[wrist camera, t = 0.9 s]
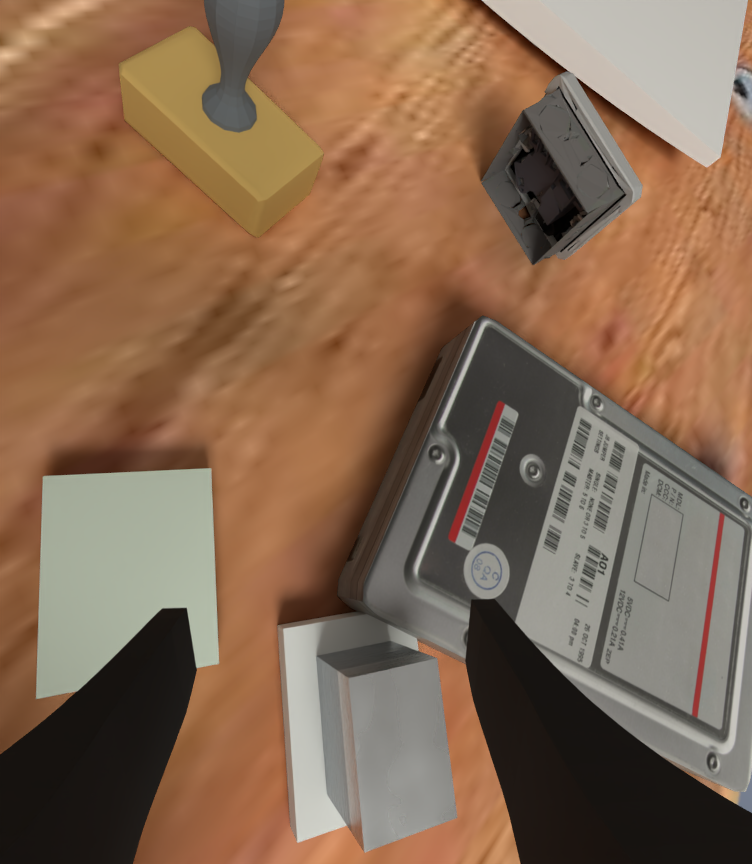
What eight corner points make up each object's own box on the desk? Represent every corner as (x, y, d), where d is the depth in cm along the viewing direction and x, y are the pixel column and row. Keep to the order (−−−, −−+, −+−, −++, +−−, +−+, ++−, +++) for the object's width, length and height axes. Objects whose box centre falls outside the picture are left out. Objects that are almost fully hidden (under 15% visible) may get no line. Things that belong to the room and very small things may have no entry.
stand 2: (421, 782, 26) (435, 794, 25) (290, 826, 23) (297, 842, 22) (401, 603, 28) (413, 605, 26) (277, 625, 25) (283, 628, 24)
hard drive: (679, 769, 33) (749, 798, 29) (327, 597, 27) (354, 604, 23) (716, 519, 40) (777, 514, 36) (443, 339, 34) (479, 309, 30)
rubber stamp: (312, 192, 32) (381, 6, 21) (254, 241, 30) (299, 60, 19) (191, 78, 31) (200, -181, 20) (120, 120, 28) (86, -149, 18)
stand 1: (216, 657, 24) (219, 663, 22) (45, 690, 21) (36, 698, 20) (209, 472, 26) (211, 468, 24) (50, 480, 23) (43, 476, 22)
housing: (404, 769, 24) (457, 817, 20) (326, 794, 23) (364, 852, 18) (390, 640, 25) (437, 658, 21) (315, 656, 24) (348, 678, 19)
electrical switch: (567, 260, 40) (664, 184, 31) (522, 285, 38) (612, 211, 29) (505, 161, 40) (585, 58, 31) (458, 182, 38) (528, 77, 29)
